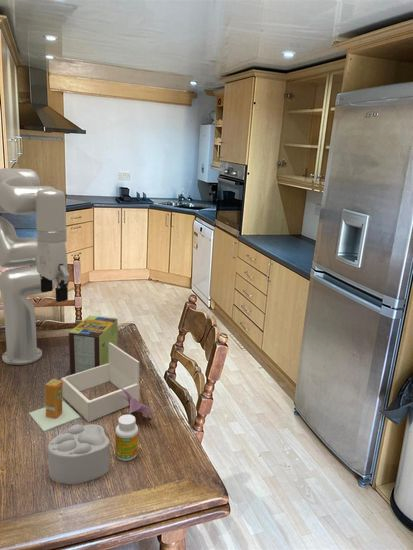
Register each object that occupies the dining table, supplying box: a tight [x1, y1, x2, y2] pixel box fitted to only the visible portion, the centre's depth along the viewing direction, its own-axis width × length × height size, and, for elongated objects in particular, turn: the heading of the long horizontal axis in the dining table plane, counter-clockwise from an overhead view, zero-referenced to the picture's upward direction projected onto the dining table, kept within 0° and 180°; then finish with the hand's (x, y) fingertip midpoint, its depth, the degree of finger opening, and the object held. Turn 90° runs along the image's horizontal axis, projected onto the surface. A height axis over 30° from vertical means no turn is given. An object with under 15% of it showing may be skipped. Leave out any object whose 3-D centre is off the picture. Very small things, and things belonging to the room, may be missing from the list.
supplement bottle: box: [114, 413, 139, 462], centre depth 103 cm, size 5×5×10 cm
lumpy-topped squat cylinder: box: [47, 423, 111, 485], centre depth 98 cm, size 10×13×9 cm
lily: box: [120, 387, 156, 419], centre depth 117 cm, size 12×12×10 cm
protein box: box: [68, 315, 119, 376], centre depth 142 cm, size 10×15×16 cm
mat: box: [28, 400, 81, 433], centre depth 117 cm, size 10×10×1 cm
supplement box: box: [45, 378, 63, 419], centre depth 116 cm, size 3×3×10 cm
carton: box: [60, 343, 141, 423], centre depth 125 cm, size 16×16×13 cm
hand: (54, 296), depth 121 cm, fingers open, 9 cm apart
